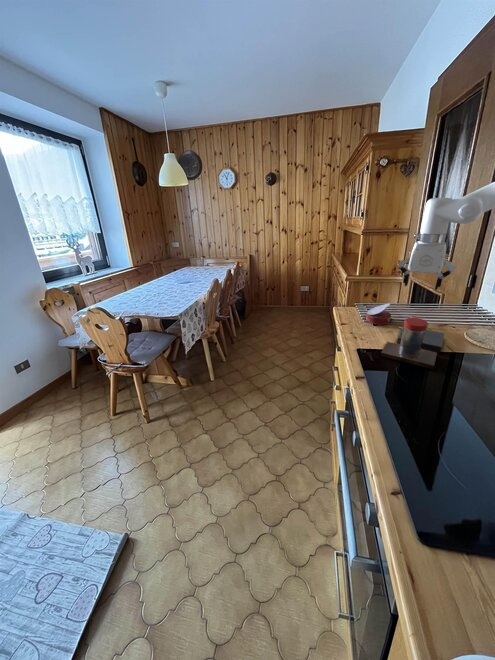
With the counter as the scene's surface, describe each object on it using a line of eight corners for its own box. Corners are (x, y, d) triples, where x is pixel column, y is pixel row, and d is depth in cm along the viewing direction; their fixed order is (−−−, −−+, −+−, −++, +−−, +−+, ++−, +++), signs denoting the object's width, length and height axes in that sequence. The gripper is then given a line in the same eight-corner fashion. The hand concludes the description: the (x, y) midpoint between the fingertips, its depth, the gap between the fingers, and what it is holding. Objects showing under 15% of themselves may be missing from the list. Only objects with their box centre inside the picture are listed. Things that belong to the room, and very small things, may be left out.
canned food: (377, 334, 124) (372, 318, 118) (363, 322, 132) (358, 307, 126) (400, 319, 123) (396, 303, 117) (384, 309, 131) (380, 293, 125)
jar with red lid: (421, 350, 99) (429, 319, 94) (418, 359, 94) (426, 327, 89) (400, 346, 103) (406, 316, 97) (396, 354, 98) (403, 323, 92)
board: (436, 356, 98) (437, 352, 97) (433, 369, 92) (434, 365, 91) (386, 344, 107) (387, 341, 106) (380, 356, 100) (381, 352, 100)
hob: (443, 337, 109) (445, 331, 108) (440, 353, 100) (442, 346, 98) (399, 328, 117) (400, 322, 116) (392, 342, 108) (393, 336, 107)
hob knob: (412, 332, 109) (415, 320, 106) (407, 331, 110) (409, 319, 107) (414, 327, 112) (417, 315, 110) (409, 326, 113) (411, 314, 111)
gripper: (401, 239, 97) (392, 286, 105) (462, 241, 88) (448, 293, 95) (405, 235, 102) (396, 281, 110) (463, 237, 93) (449, 287, 101)
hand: (420, 286), depth 103 cm, fingers open, 9 cm apart
